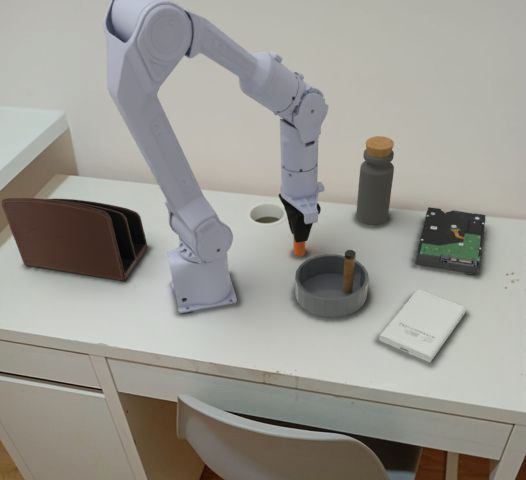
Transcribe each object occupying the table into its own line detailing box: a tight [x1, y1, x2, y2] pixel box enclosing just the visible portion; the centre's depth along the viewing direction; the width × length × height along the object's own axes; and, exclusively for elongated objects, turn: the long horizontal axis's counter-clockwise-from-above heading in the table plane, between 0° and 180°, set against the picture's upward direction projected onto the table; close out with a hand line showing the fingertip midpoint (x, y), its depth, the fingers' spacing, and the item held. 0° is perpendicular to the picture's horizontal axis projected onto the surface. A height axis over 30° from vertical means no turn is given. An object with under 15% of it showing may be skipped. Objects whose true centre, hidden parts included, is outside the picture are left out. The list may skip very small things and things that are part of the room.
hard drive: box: [378, 289, 467, 363], centre depth 87 cm, size 2×8×12 cm
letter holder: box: [1, 197, 148, 282], centre depth 99 cm, size 10×20×14 cm, turn 74°
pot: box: [294, 253, 370, 319], centre depth 92 cm, size 11×11×4 cm
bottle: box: [355, 135, 395, 227], centre depth 103 cm, size 6×6×15 cm
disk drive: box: [415, 206, 486, 275], centre depth 100 cm, size 10×3×15 cm
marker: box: [293, 238, 306, 257], centre depth 98 cm, size 2×2×8 cm
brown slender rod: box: [342, 249, 357, 293], centre depth 91 cm, size 2×2×8 cm
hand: (299, 236), depth 99 cm, fingers closed on marker, 2 cm apart
